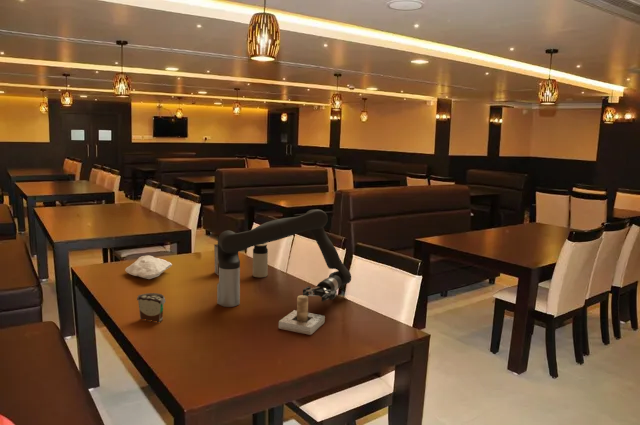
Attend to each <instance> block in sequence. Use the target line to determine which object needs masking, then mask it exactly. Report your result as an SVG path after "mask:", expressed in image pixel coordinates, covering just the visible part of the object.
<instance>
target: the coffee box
mask: <svg viewBox="0 0 640 425" xmlns="http://www.w3.org/2000/svg"><path fill="white" fill-rule="evenodd" d="M213 245H214V274H216V275H217V276H219V261H218V243H216V244H213Z"/></svg>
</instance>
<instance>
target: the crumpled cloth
mask: <svg viewBox="0 0 640 425" xmlns="http://www.w3.org/2000/svg"><path fill="white" fill-rule="evenodd" d="M172 266H173V264H172V263H171V262H170V261H167V260H165V259H162V258H158V257H155V256H153V255H142V256H140V257H138V258H137V260H135V261H134V262H133V263H132V264H130V265H129V266H127V267H126V268H125V269H124V270H125V272H126V273H127V274H129V275H132V276H134V277H140V278H143V279H148V280H151V279H154V278H157V277H159V276H160V275H161V274H163V273H164V272H165V271H166V270H167V269H169V268H171V267H172Z"/></svg>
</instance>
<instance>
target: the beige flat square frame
mask: <svg viewBox="0 0 640 425" xmlns="http://www.w3.org/2000/svg"><path fill="white" fill-rule="evenodd" d="M325 318H326V317H325V315H323V314H316V313H311V312H308V322H306V323H305V322H300V321H297V309H296V310H295V309H293V311H291V312H289V313H288V314H287V315H286V316H284V317H283V318H281V319H280V320H279V321H278V329H281V330H285V331H289V332H295V333H299V334H303V335H304V334H306V335H309V336H311V335H313V333H315V332H316V331H317V330H318V329H319V328H321V327H322V325H324V324H325V320H326V319H325Z"/></svg>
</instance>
